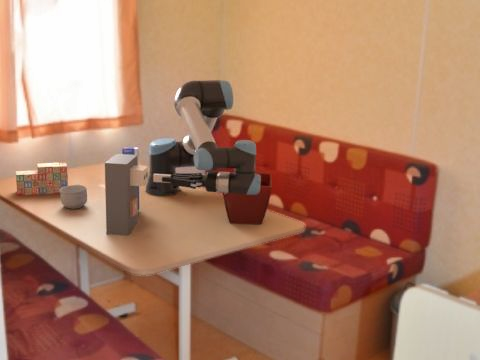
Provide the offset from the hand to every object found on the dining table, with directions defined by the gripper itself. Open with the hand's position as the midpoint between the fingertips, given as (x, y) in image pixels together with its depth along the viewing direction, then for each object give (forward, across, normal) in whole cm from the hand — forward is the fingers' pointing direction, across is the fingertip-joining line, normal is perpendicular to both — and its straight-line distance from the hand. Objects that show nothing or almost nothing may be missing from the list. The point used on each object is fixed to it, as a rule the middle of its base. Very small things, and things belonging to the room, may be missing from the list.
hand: (153, 177), depth 234 cm
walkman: (+32, +80, -21) cm, 89 cm away
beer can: (+15, +19, -21) cm, 32 cm away
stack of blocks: (+59, +37, -21) cm, 73 cm away
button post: (+12, +1, -21) cm, 24 cm away
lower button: (+11, +1, -15) cm, 19 cm away
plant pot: (-32, +21, -21) cm, 44 cm away
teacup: (+39, +23, -21) cm, 50 cm away
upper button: (+7, +1, -3) cm, 8 cm away
